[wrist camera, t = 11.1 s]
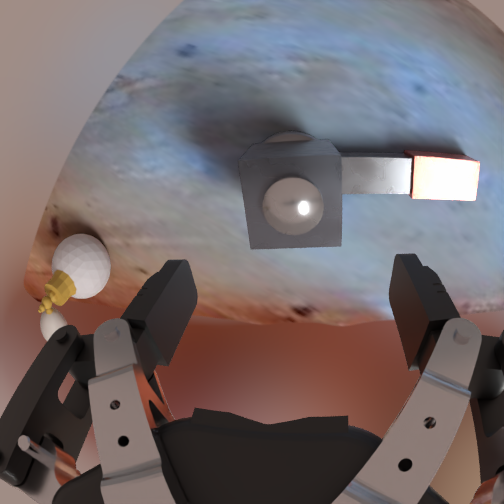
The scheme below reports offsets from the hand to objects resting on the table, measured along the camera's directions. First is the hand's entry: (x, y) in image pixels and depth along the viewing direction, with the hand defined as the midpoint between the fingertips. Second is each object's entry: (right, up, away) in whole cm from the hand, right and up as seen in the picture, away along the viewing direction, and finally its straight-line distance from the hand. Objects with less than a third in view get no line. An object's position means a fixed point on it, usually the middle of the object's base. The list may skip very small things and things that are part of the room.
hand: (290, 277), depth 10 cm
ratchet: (+9, +8, +11) cm, 16 cm away
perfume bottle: (-21, 0, +21) cm, 29 cm away
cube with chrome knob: (+2, +7, +10) cm, 12 cm away
